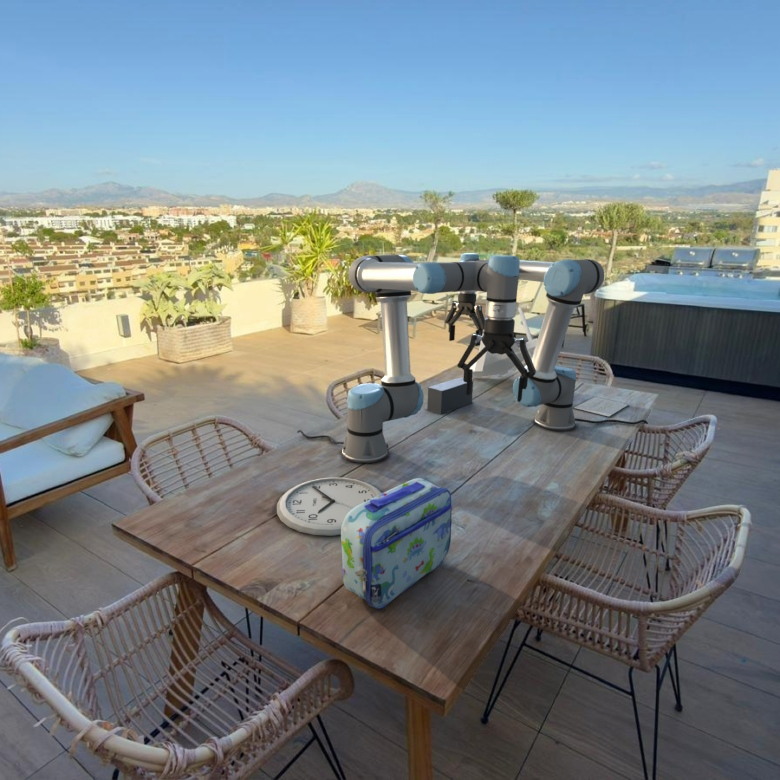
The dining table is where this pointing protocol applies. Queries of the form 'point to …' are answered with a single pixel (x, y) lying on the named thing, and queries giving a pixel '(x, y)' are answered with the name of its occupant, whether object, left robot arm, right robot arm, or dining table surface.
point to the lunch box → (395, 540)
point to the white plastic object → (502, 356)
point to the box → (448, 396)
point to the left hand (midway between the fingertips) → (493, 397)
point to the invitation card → (601, 406)
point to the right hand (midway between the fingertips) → (464, 343)
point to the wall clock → (323, 504)
